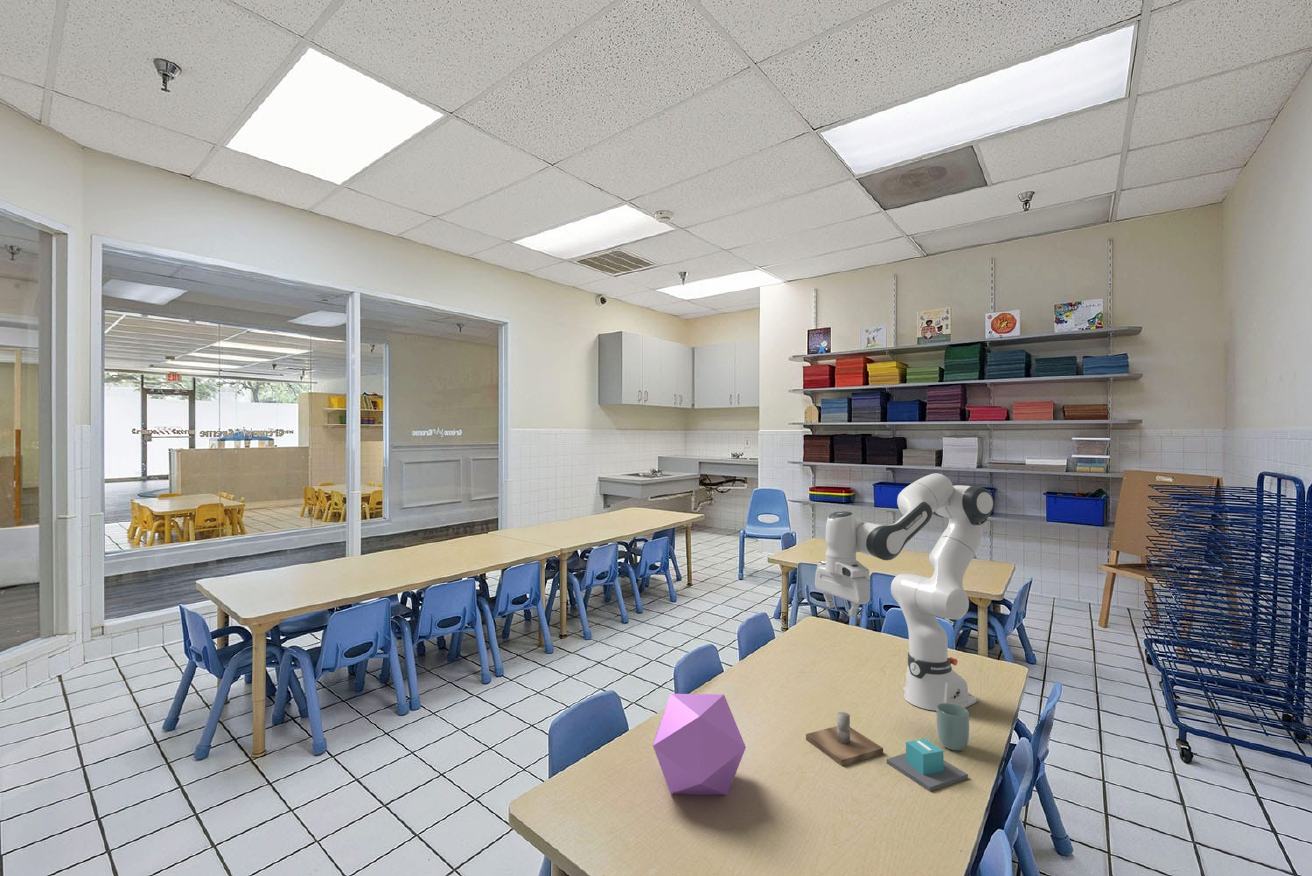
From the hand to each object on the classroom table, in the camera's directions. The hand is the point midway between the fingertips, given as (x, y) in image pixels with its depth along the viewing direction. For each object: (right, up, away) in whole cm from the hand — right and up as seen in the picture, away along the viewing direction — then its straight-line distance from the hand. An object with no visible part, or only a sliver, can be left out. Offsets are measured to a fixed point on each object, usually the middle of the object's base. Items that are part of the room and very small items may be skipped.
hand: (840, 611), depth 168 cm
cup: (+24, -31, -18) cm, 43 cm away
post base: (-5, -31, -18) cm, 36 cm away
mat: (+12, -31, -29) cm, 44 cm away
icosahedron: (-46, -31, -35) cm, 65 cm away
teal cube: (+11, -30, -29) cm, 43 cm away
